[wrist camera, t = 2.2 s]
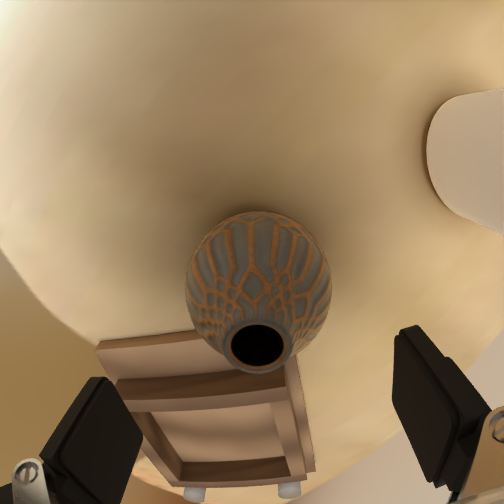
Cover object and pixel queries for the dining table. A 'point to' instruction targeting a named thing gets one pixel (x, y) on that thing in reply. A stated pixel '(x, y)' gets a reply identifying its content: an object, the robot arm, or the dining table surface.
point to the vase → (258, 290)
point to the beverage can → (470, 157)
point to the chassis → (211, 414)
